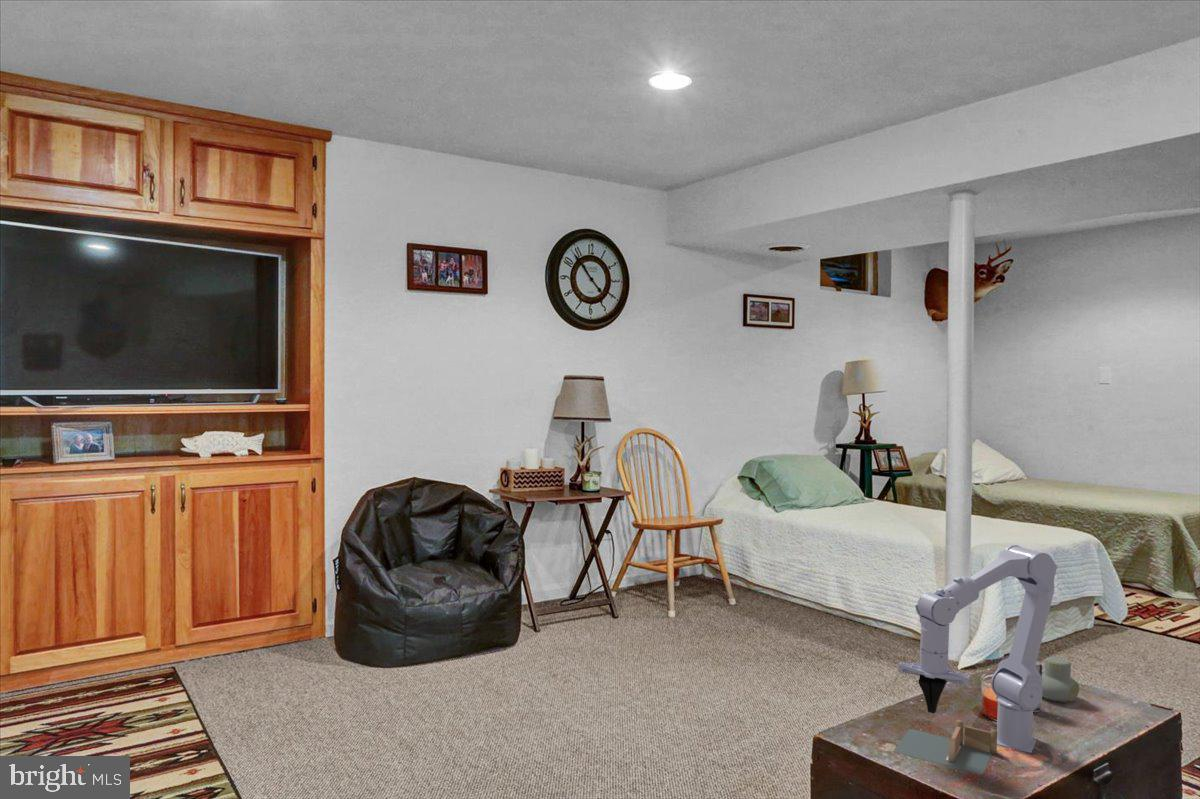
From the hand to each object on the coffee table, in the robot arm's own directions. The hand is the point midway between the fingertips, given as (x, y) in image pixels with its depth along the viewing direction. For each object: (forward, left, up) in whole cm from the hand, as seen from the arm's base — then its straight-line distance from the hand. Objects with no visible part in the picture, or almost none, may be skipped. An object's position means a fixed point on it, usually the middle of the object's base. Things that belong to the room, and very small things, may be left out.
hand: (932, 711), depth 185 cm
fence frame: (-7, +8, -8) cm, 14 cm away
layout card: (-2, +2, -9) cm, 9 cm away
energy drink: (-41, +14, -9) cm, 44 cm away
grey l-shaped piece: (-54, +19, -9) cm, 58 cm away
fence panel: (-1, +5, -8) cm, 10 cm away
